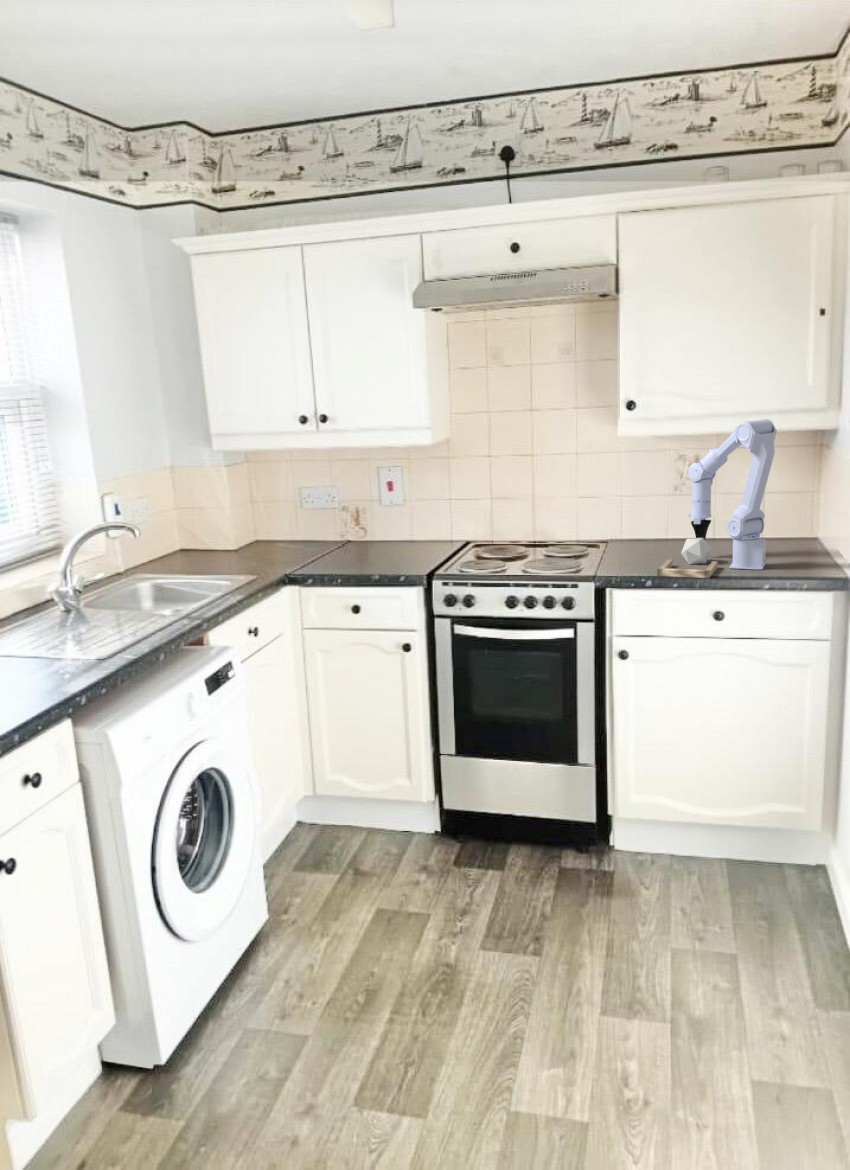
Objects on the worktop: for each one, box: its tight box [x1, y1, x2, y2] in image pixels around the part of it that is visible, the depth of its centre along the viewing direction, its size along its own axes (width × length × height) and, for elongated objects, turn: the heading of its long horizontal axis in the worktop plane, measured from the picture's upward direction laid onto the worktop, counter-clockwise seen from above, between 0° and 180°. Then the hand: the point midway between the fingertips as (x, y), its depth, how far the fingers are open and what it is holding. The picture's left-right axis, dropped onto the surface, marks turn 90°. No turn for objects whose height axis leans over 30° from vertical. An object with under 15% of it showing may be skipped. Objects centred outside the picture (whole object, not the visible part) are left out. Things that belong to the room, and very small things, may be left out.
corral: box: [656, 559, 719, 579], centre depth 272 cm, size 15×14×2 cm
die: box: [680, 537, 712, 565], centre depth 283 cm, size 8×9×10 cm
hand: (700, 542), depth 290 cm, fingers closed
